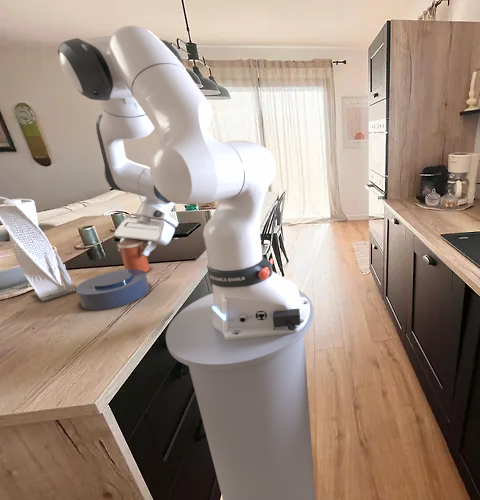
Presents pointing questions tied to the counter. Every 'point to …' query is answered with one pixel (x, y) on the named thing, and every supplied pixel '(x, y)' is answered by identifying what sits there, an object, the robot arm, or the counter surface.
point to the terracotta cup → (133, 255)
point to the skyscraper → (34, 250)
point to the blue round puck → (112, 289)
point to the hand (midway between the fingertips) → (132, 253)
